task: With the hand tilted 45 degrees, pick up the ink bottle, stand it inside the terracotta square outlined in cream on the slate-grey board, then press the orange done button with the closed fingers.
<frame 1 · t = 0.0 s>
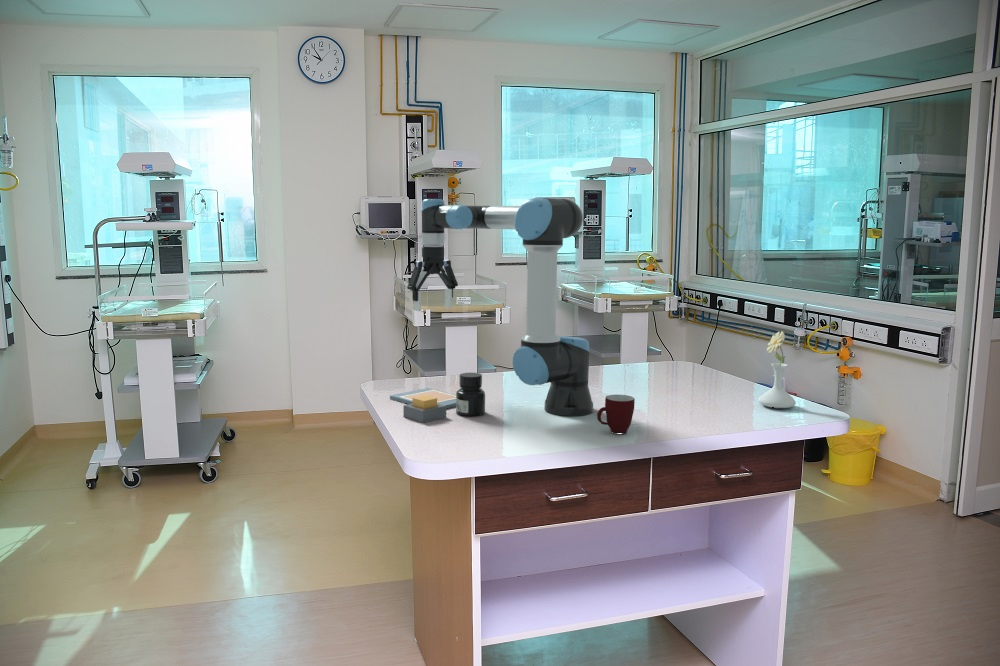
hand: (433, 309, 259), 28 cm above the table, tool pointing down, fingers open, 13 cm apart
picture board: (430, 400, 248), on the table
flower in vase: (776, 407, 246), on the table
done button: (424, 404, 228), point 4 cm above the table, slide at 0.0 cm
mug: (614, 433, 214), on the table
ink bottle: (470, 414, 234), on the table
button housing: (424, 417, 229), on the table
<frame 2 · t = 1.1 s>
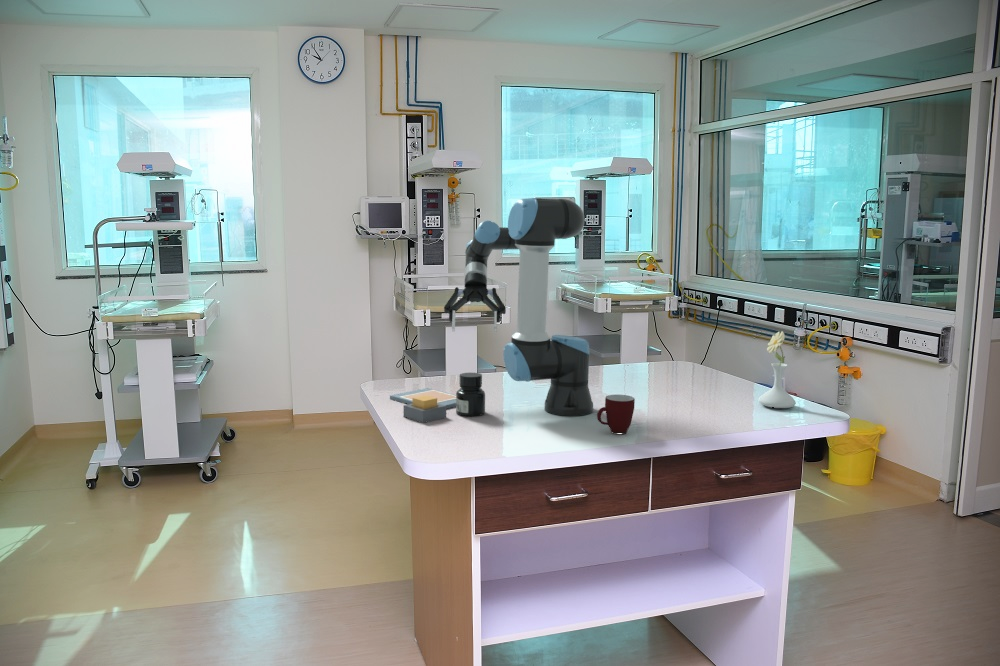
hand: (474, 329, 248), 23 cm above the table, tool tilted 45°, fingers open, 13 cm apart
nothing on the table moved.
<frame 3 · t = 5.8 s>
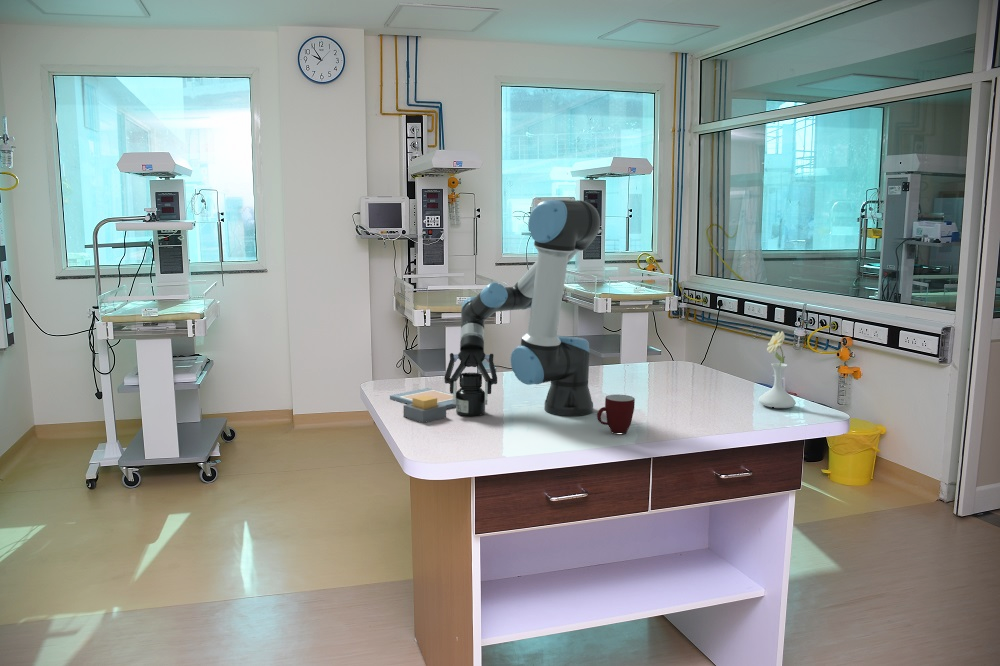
hand: (470, 402, 230), 4 cm above the table, tool tilted 45°, fingers closed on ink bottle, 9 cm apart
ink bottle: (470, 413, 234), on the table, touching gripper
everything else where it was.
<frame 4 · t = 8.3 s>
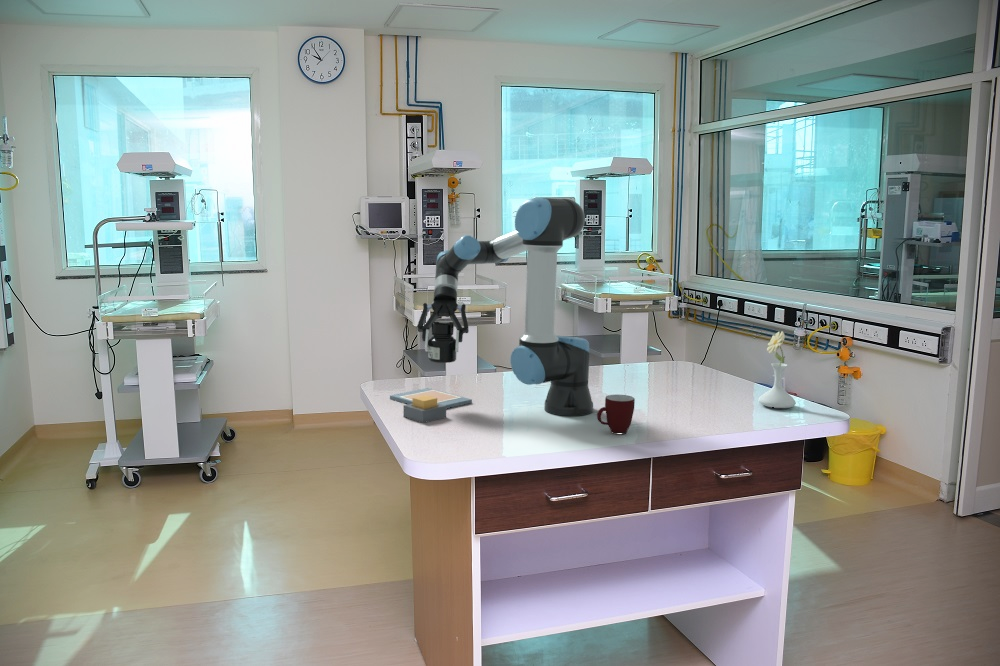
hand: (441, 349, 238), 18 cm above the table, tool tilted 45°, fingers closed on ink bottle, 9 cm apart
ink bottle: (442, 361, 242), point 14 cm above the table, touching gripper
everything else where it was.
when the fingers open (7 cm above the table, at t = 11.1 s): ink bottle drops 1 cm, resting on picture board.
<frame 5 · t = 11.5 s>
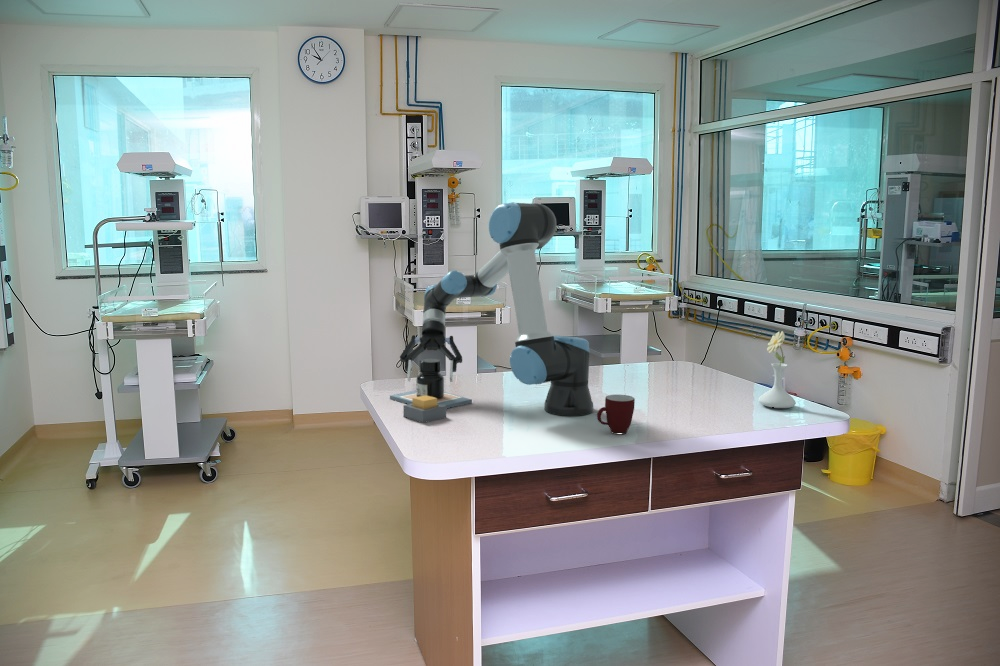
hand: (429, 379, 245), 8 cm above the table, tool tilted 45°, fingers open, 13 cm apart
ink bottle: (430, 397, 248), point 1 cm above the table, touching picture board
everything else where it was.
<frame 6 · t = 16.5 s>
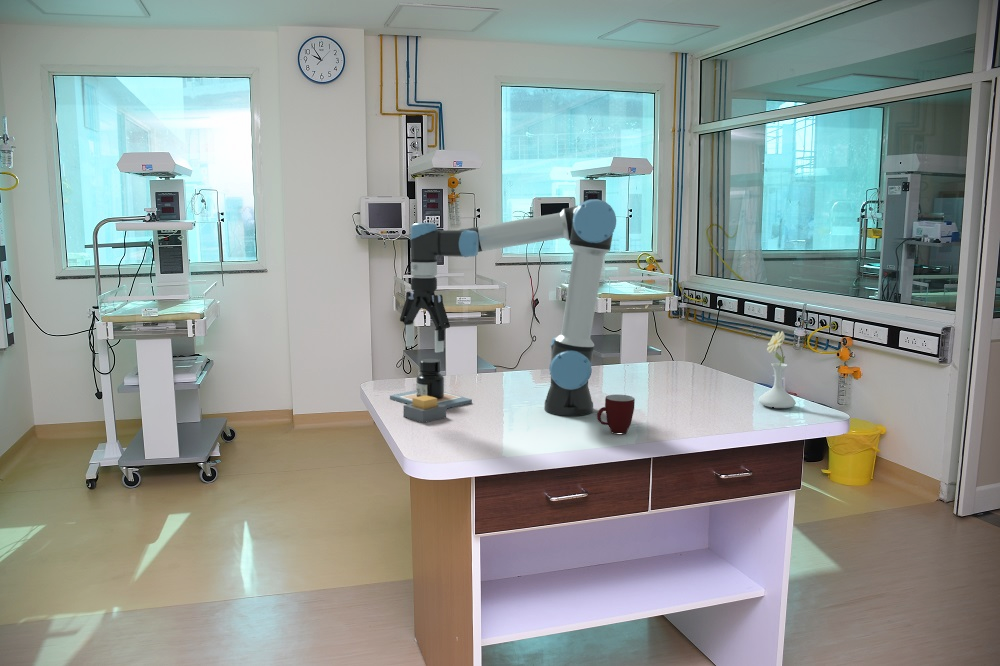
hand: (424, 349, 226), 21 cm above the table, tool pointing down, fingers open, 13 cm apart
nothing on the table moved.
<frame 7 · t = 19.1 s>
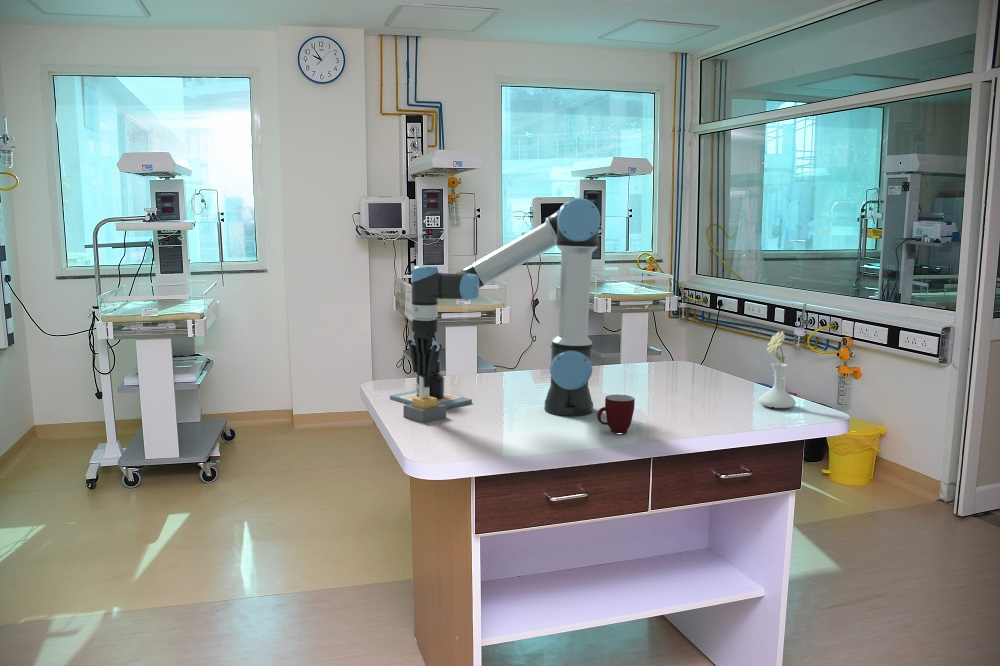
hand: (424, 397, 228), 6 cm above the table, tool pointing down, fingers closed
done button: (424, 404, 228), point 4 cm above the table, slide at 0.0 cm, touching gripper
everything else where it was.
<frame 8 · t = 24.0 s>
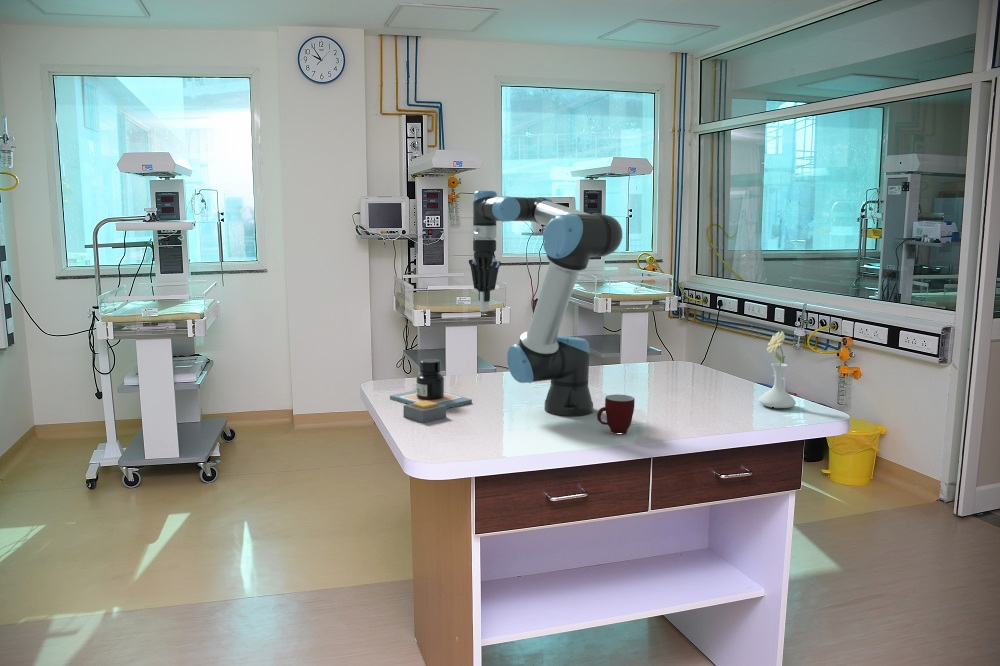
hand: (484, 311, 252), 28 cm above the table, tool pointing down, fingers closed
done button: (424, 409, 228), point 2 cm above the table, slide at 1.6 cm
everything else where it was.
at the end: ink bottle inside the target area on the picture board (0.1 cm from its centre), point 1.1 cm above the picture board's base; ink bottle tilted 0°; done button slide at 1.6 cm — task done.
